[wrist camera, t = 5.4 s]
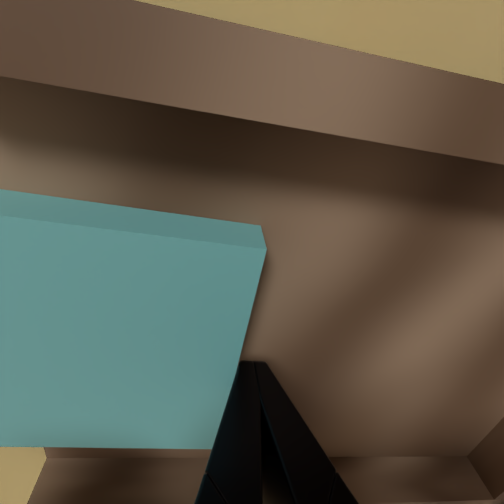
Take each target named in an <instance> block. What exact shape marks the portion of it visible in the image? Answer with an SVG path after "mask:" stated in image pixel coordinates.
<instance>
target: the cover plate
mask: <svg viewBox="0 0 504 504" xmlns="http://www.w3.org/2000/svg"><path fill="white" fill-rule="evenodd" d="M266 251H267V248H266V244H265V240H264V236H263V233H262V229H261V226H260V225H253V224H246V223H239V222H232V221H225V220H217V219H210V218H203V217H196V216H189V215H182V214H175V213H167V212H160V211H153V210H146V209H139V208H132V207H125V206H118V205H110V204H103V203H96V202H89V201H82V200H75V199H68V198H60V197H53V196H46V195H39V194H32V193H25V192H18V191H10V190H3V189H0V447H75V448H153V449H212V447H213V444H214V441H215V437H216V434H217V431H218V428H219V425H220V422H221V419H222V415H223V412H224V409H225V406H226V403H227V400H228V396H229V393H230V390H231V387H232V384H233V381H234V378H235V374H236V370H237V366H238V362H239V358H240V354H241V350H242V346H243V342H244V338H245V334H246V330H247V326H248V322H249V318H250V314H251V310H252V306H253V302H254V298H255V294H256V291H257V287H258V283H259V279H260V275H261V271H262V267H263V263H264V259H265V255H266Z"/></svg>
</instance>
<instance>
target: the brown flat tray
mask: <svg viewBox="0 0 504 504" xmlns="http://www.w3.org/2000/svg"><path fill="white" fill-rule="evenodd" d="M0 189H3V190H10V191H18V192H25V193H32V194H39V195H46V196H53V197H60V198H68V199H75V200H82V201H89V202H96V203H103V204H110V205H118V206H125V207H132V208H139V209H146V210H153V211H160V212H167V213H175V214H182V215H189V216H196V217H203V218H210V219H217V220H225V221H232V222H239V223H246V224H253V225H260V226H261V229H262V233H263V236H264V240H265V244H266V248H267V251H266V255H265V259H264V263H263V267H262V271H261V275H260V279H259V283H258V287H257V291H256V294H255V298H254V302H253V306H252V310H251V314H250V318H249V322H248V326H247V330H246V334H245V338H244V342H243V346H242V350H241V354H240V358H239V362H240V361H241V360H250V361H265V362H266V363H267V364H268V366H269V367H270V369H271V370H272V372H273V373H274V375H275V377H276V378H277V380H278V381H279V383H280V384H281V386H282V387H283V389H284V390H285V392H286V393H287V395H288V396H289V398H290V399H291V401H292V403H293V404H294V406H295V407H296V409H297V410H298V412H299V413H300V415H301V416H302V418H303V419H304V421H305V422H306V424H307V426H308V427H309V429H310V430H311V432H312V433H313V435H314V436H315V438H316V439H317V441H318V442H319V444H320V445H321V447H322V448H323V450H324V452H325V453H326V455H327V456H328V458H329V459H330V461H331V462H332V464H333V465H334V467H335V468H336V472H338V473H339V474H340V476H341V477H342V479H343V480H344V482H345V484H346V485H347V487H348V488H349V490H350V491H351V492H352V494H353V495H354V497H355V498H356V500H357V501H358V503H359V504H504V84H501V83H497V82H492V81H488V80H484V79H479V78H475V77H470V76H466V75H462V74H457V73H453V72H448V71H444V70H439V69H435V68H431V67H426V66H422V65H417V64H413V63H408V62H404V61H400V60H395V59H391V58H386V57H382V56H377V55H373V54H369V53H364V52H360V51H355V50H351V49H347V48H342V47H338V46H333V45H329V44H324V43H320V42H316V41H311V40H307V39H302V38H298V37H293V36H289V35H285V34H280V33H276V32H271V31H267V30H262V29H258V28H254V27H249V26H245V25H240V24H236V23H232V22H227V21H223V20H218V19H214V18H209V17H205V16H201V15H196V14H192V13H187V12H183V11H178V10H174V9H170V8H165V7H161V6H156V5H152V4H147V3H143V2H139V1H134V0H0ZM239 362H238V365H239ZM237 368H238V366H237ZM236 371H237V370H236ZM44 450H45V453H46V457H47V459H46V461H45V464H44V466H43V468H42V471H41V473H40V475H39V478H38V480H37V482H36V485H35V487H34V489H33V491H32V494H31V496H30V498H29V501H28V503H27V504H194V502H195V499H196V496H197V493H198V491H199V487H200V484H201V481H202V478H203V475H204V473H205V469H206V466H207V463H208V460H209V456H210V453H211V450H212V449H153V448H75V447H44Z"/></svg>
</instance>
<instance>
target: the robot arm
mask: <svg viewBox="0 0 504 504" xmlns="http://www.w3.org/2000/svg"><path fill="white" fill-rule="evenodd" d="M194 504H359V503H358V501H357V500H356V498H355V497H354V495H353V494H352V492H351V491H350V490H349V488H348V487H347V485H346V484H345V482H344V480H343V479H342V477H341V476H340V474H339V473H338V472H336V468H335V467H334V465H333V464H332V462H331V461H330V459H329V458H328V456H327V455H326V453H325V452H324V450H323V448H322V447H321V445H320V444H319V442H318V441H317V439H316V438H315V436H314V435H313V433H312V432H311V430H310V429H309V427H308V426H307V424H306V422H305V421H304V419H303V418H302V416H301V415H300V413H299V412H298V410H297V409H296V407H295V406H294V404H293V403H292V401H291V399H290V398H289V396H288V395H287V393H286V392H285V390H284V389H283V387H282V386H281V384H280V383H279V381H278V380H277V378H276V377H275V375H274V373H273V372H272V370H271V369H270V367H269V366H268V364H267V363H266V362H265V361H250V360H241V361H240V362H239V365H238V368H237V371H236V374H235V378H234V381H233V384H232V387H231V390H230V393H229V396H228V400H227V403H226V406H225V409H224V412H223V415H222V419H221V422H220V425H219V428H218V431H217V434H216V437H215V441H214V444H213V447H212V450H211V453H210V456H209V460H208V463H207V466H206V469H205V473H204V475H203V478H202V481H201V484H200V487H199V491H198V493H197V496H196V499H195V502H194Z"/></svg>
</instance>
